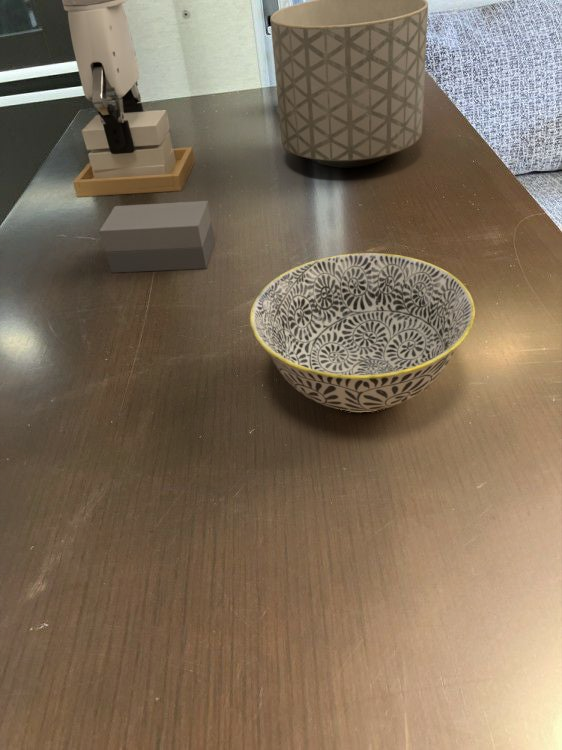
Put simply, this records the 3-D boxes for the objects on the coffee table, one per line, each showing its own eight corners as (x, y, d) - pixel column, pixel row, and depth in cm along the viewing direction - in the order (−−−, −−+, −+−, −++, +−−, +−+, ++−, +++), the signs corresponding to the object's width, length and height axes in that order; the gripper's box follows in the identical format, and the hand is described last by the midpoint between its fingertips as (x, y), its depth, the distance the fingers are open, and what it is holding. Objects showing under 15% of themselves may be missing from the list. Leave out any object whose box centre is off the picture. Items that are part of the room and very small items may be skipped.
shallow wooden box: (76, 197, 85) (72, 182, 84) (99, 167, 93) (95, 153, 92) (181, 190, 83) (178, 175, 82) (195, 161, 91) (192, 146, 90)
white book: (86, 150, 83) (81, 130, 81) (101, 133, 88) (96, 115, 86) (159, 144, 82) (155, 125, 80) (170, 128, 87) (166, 109, 85)
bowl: (223, 380, 51) (208, 303, 47) (366, 305, 58) (366, 231, 53) (352, 495, 41) (349, 411, 36) (509, 388, 47) (525, 305, 43)
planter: (405, 188, 77) (411, 23, 66) (263, 180, 83) (246, 28, 72) (431, 135, 91) (440, -10, 79) (307, 131, 97) (299, -3, 85)
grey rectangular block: (111, 273, 67) (98, 230, 64) (126, 246, 72) (114, 205, 69) (206, 268, 66) (198, 225, 63) (215, 242, 71) (207, 200, 68)
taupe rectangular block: (94, 186, 86) (85, 154, 83) (109, 167, 91) (100, 136, 88) (167, 182, 84) (160, 149, 82) (177, 162, 90) (171, 131, 87)
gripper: (85, -18, 81) (120, 124, 92) (35, 7, 67) (84, 169, 79) (141, -23, 80) (170, 120, 91) (101, 1, 67) (141, 165, 78)
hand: (129, 141), depth 85 cm, fingers closed on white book, 6 cm apart
